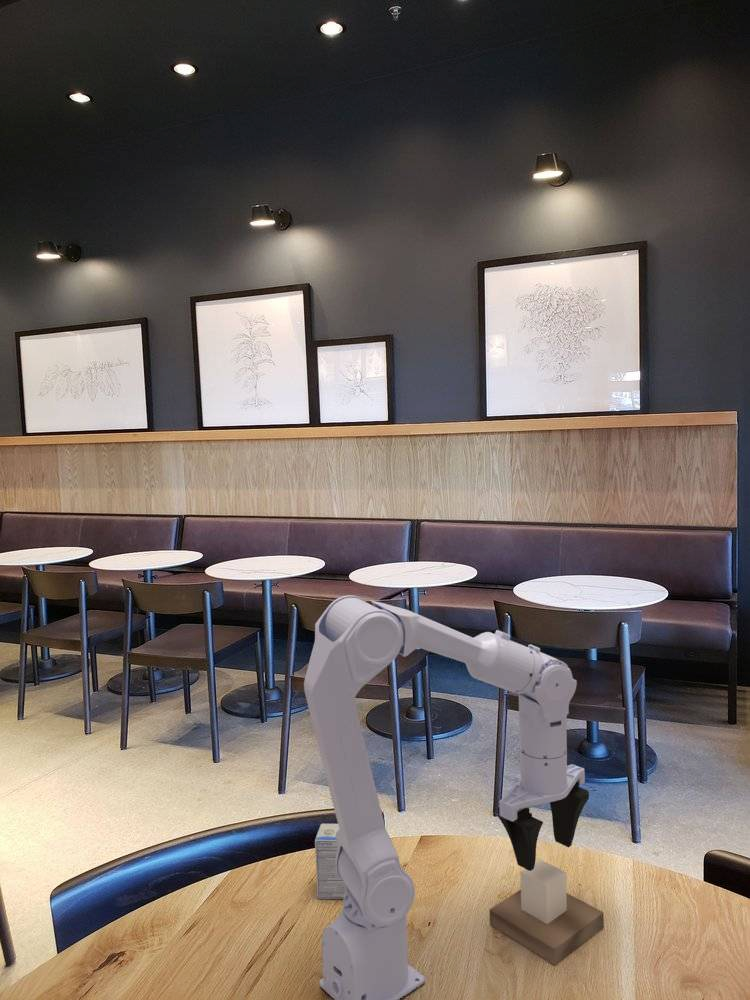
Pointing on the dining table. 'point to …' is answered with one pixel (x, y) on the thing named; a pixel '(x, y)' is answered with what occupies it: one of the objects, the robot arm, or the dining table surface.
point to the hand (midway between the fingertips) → (544, 854)
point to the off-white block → (543, 891)
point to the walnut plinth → (548, 927)
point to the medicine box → (328, 863)
